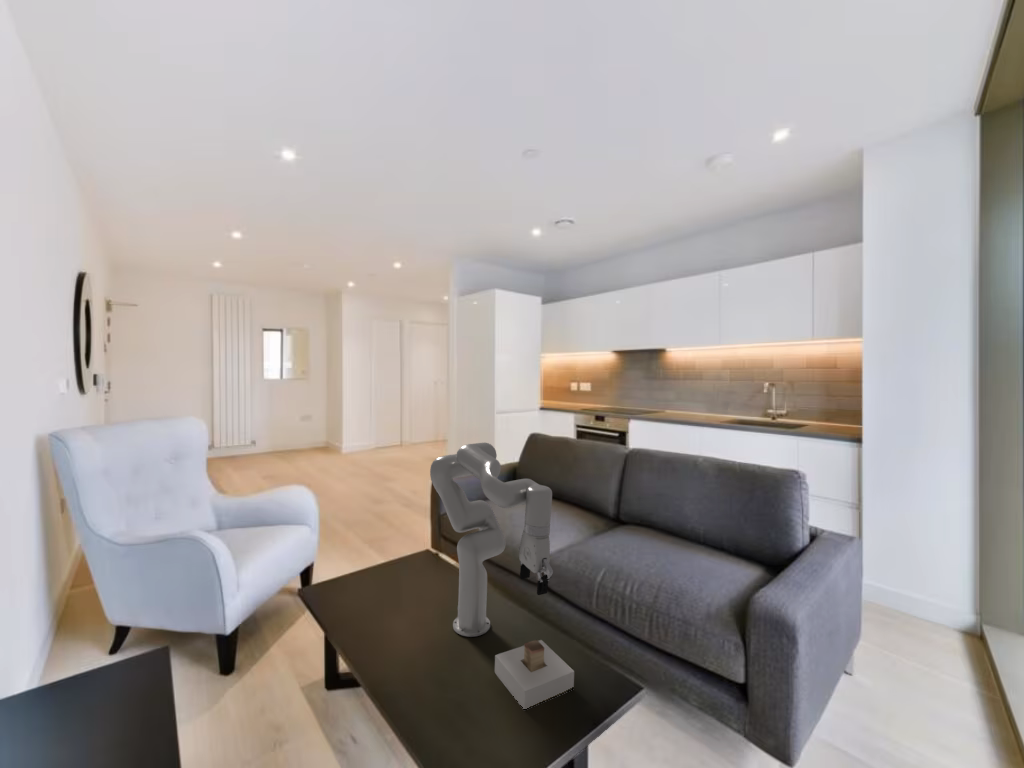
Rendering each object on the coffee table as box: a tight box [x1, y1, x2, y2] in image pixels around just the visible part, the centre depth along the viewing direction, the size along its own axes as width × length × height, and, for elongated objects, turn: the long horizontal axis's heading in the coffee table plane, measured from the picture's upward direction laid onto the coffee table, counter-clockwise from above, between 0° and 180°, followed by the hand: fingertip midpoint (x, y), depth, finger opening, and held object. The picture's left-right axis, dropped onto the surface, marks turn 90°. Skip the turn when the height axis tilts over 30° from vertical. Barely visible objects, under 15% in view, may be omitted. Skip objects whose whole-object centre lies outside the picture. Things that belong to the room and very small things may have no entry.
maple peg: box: [523, 639, 544, 672], centre depth 121 cm, size 4×4×10 cm
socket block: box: [494, 639, 575, 710], centre depth 121 cm, size 16×16×5 cm
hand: (533, 585), depth 127 cm, fingers open, 9 cm apart
